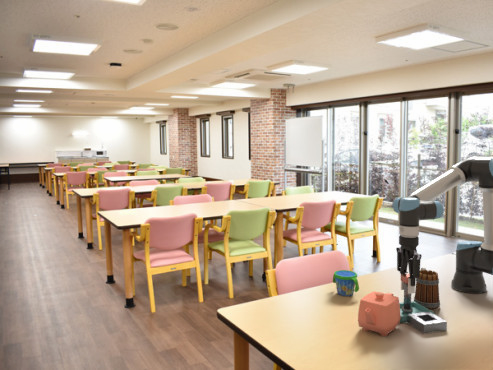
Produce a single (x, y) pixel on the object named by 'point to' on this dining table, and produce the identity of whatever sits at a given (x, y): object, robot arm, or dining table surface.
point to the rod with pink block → (406, 295)
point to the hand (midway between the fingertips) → (407, 291)
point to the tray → (416, 309)
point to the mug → (427, 289)
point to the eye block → (426, 322)
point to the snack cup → (345, 282)
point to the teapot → (379, 312)
